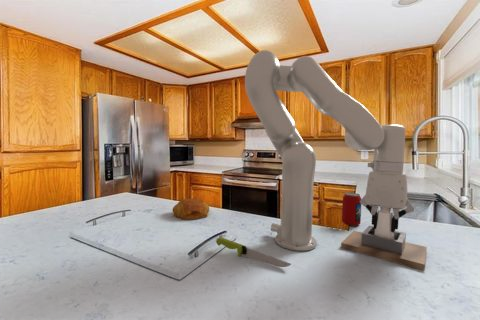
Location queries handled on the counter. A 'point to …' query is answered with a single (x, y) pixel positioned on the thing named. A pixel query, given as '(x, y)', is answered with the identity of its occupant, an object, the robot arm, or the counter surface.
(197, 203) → the round bread loaf
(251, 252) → the kitchen knife
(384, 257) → the walnut board
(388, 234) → the salt shaker
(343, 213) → the beverage can
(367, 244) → the metal socket
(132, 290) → the counter surface
